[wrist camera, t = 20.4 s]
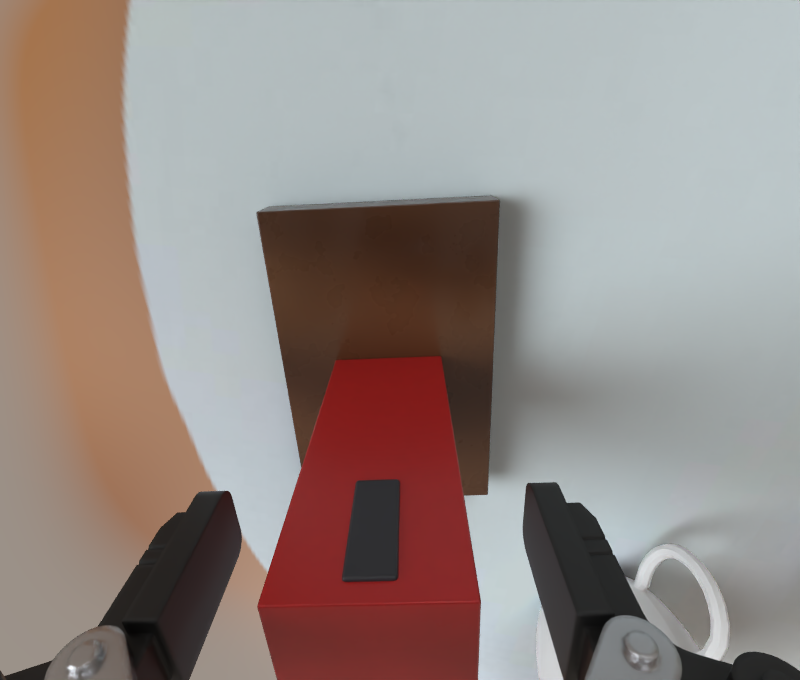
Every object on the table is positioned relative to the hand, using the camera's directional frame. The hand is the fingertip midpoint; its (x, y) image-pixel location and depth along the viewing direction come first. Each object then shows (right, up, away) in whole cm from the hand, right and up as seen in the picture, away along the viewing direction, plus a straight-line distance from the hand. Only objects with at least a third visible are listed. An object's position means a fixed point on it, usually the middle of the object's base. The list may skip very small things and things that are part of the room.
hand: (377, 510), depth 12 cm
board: (0, +4, +8) cm, 9 cm away
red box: (0, +2, +8) cm, 8 cm away
